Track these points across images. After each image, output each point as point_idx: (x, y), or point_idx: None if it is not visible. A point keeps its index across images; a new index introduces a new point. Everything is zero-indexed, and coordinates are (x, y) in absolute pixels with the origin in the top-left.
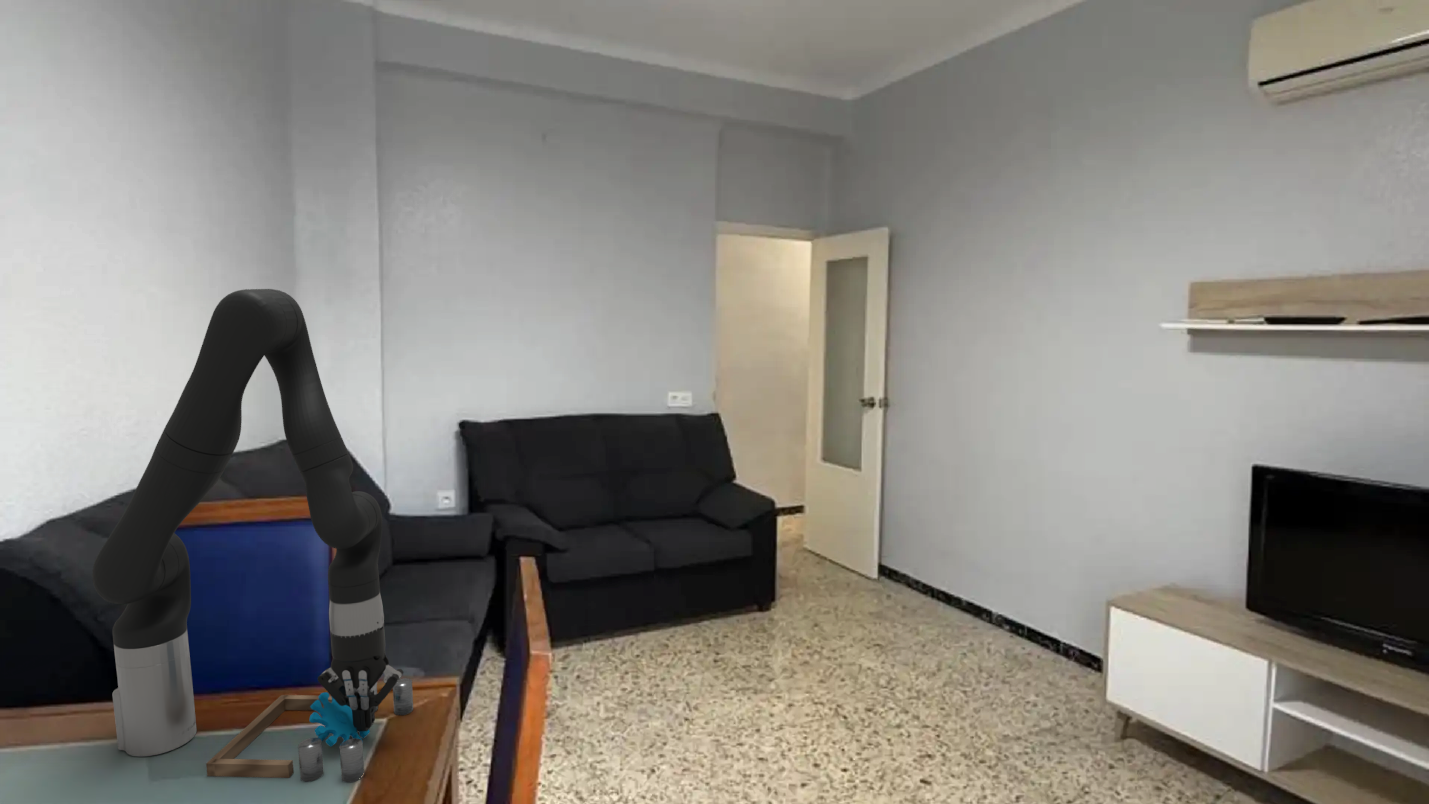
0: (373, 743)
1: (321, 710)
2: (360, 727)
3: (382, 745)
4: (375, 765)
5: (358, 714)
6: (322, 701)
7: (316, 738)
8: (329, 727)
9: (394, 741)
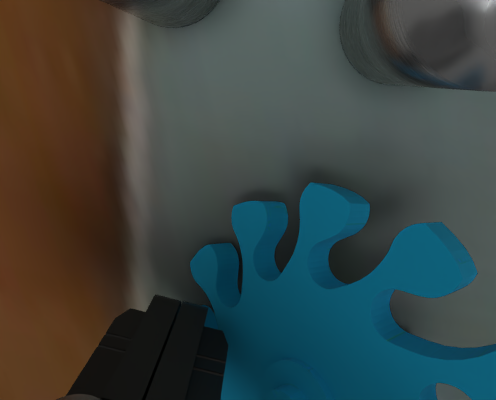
0: (148, 260)
1: None
2: (180, 313)
3: (100, 234)
4: (79, 55)
5: (164, 381)
6: None
7: (456, 69)
8: (364, 298)
9: (54, 254)
